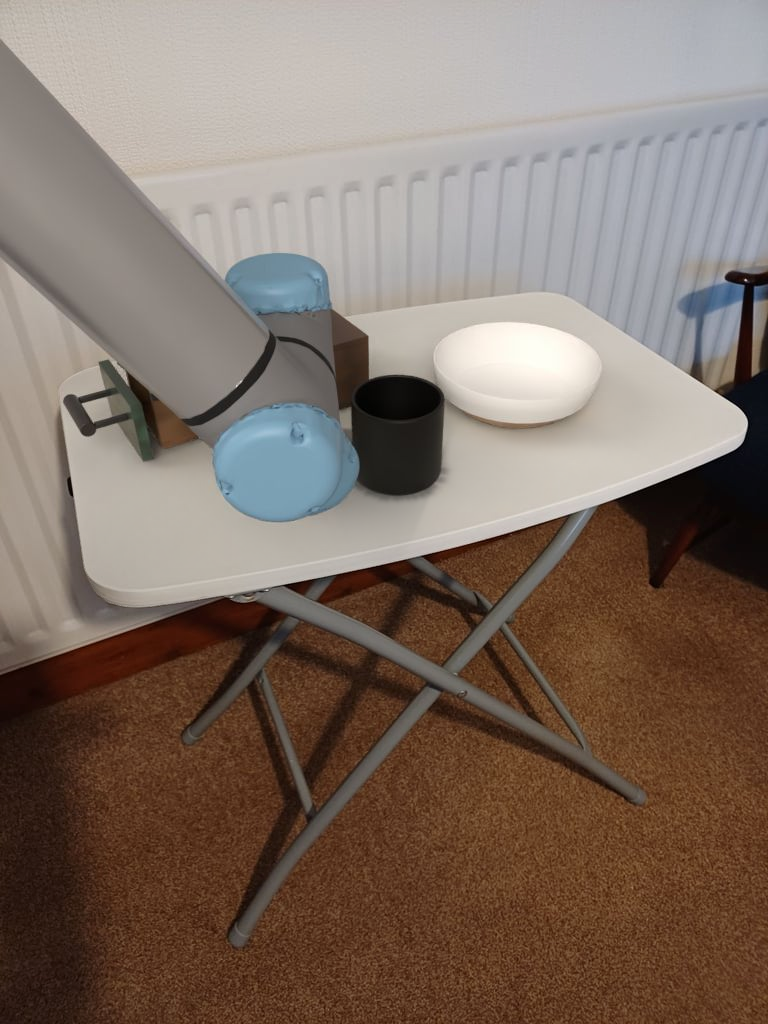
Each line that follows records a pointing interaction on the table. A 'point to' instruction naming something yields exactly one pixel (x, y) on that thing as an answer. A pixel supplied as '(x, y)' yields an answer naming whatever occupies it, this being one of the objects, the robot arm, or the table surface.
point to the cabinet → (348, 357)
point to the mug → (398, 433)
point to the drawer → (130, 413)
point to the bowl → (516, 373)
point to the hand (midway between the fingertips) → (159, 308)
